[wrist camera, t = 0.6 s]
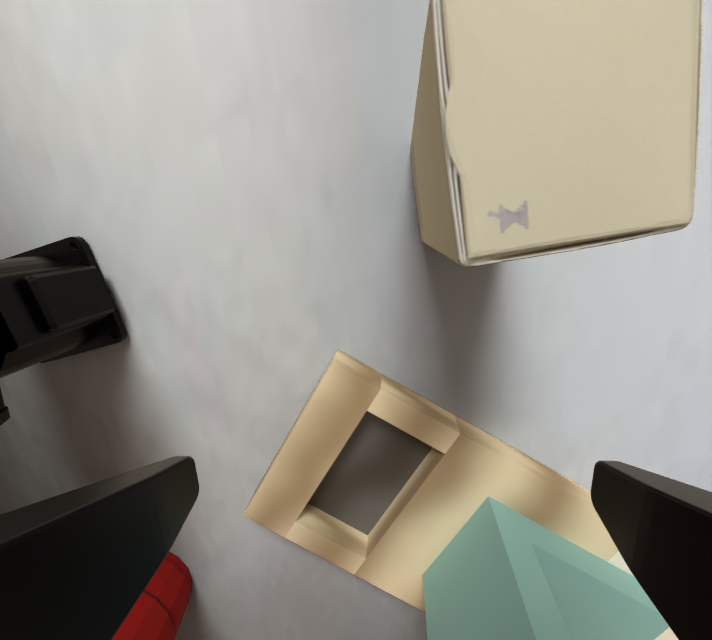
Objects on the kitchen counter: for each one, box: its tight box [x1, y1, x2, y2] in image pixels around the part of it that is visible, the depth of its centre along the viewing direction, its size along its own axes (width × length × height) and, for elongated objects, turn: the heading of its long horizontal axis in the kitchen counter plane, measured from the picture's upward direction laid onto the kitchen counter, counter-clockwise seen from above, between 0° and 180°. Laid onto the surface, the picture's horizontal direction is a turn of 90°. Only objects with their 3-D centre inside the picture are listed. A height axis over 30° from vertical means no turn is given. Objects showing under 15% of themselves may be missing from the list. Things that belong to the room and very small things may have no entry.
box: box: [410, 0, 703, 267], centre depth 13 cm, size 5×4×13 cm
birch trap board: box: [243, 350, 618, 612], centre depth 23 cm, size 37×12×2 cm, turn 61°
